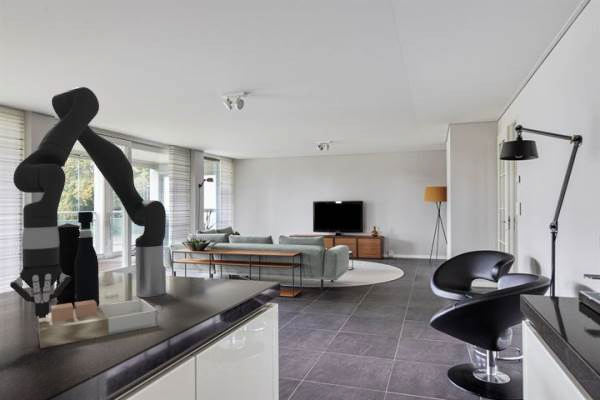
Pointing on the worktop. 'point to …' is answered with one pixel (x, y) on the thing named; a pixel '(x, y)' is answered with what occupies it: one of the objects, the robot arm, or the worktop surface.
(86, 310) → the tile
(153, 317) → the tray
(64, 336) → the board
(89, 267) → the wine bottle
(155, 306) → the chef's knife
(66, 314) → the tile
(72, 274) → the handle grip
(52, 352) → the worktop surface
